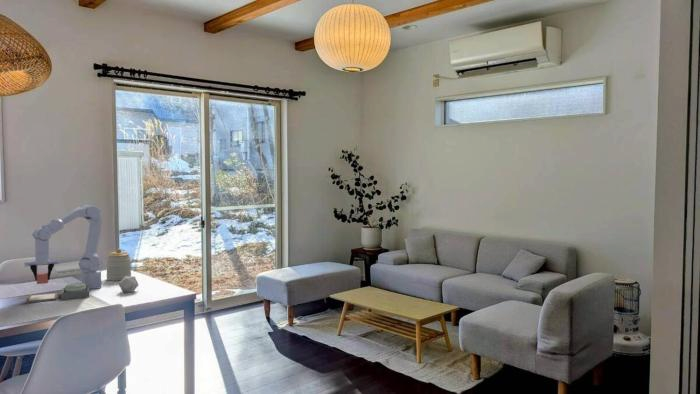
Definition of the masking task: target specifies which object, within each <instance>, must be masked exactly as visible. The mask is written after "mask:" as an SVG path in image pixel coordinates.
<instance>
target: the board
mask: <svg viewBox="0 0 700 394" xmlns="http://www.w3.org/2000/svg"><path fill="white" fill-rule="evenodd" d="M58 296H59V294H58V292H52V293H51V292H50V293H39V294H30V295H28V297H27V299H26V304H28V303H29V304H30V303H39V302H42V303H43V302H49V301H57V298H58Z"/></svg>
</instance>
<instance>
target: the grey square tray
mask: <svg viewBox="0 0 700 394" xmlns="http://www.w3.org/2000/svg"><path fill="white" fill-rule="evenodd" d="M89 297H90V289H89V286H86V291H77V292H66V293H65V287H62V288H61V292H60V300H72V299H80V298H89Z"/></svg>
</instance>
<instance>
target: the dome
mask: <svg viewBox="0 0 700 394" xmlns="http://www.w3.org/2000/svg"><path fill="white" fill-rule="evenodd" d="M64 288H65V293H66V292H77V291H86V285H85V283H82V282H72V283H67V284H66V285H65V287H64Z"/></svg>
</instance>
